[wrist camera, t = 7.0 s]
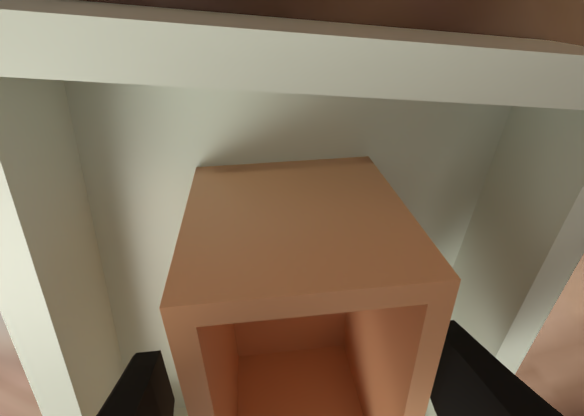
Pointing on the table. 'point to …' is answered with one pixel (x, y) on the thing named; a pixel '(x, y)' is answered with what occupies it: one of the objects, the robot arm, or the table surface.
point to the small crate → (304, 293)
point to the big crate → (265, 149)
